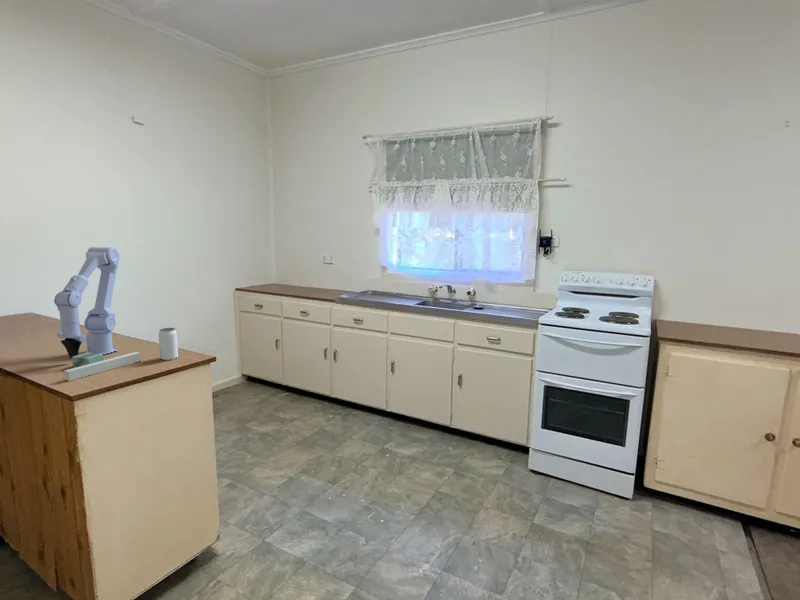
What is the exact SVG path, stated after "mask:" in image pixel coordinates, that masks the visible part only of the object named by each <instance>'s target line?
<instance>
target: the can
mask: <svg viewBox="0 0 800 600" xmlns="http://www.w3.org/2000/svg"><path fill="white" fill-rule="evenodd" d="M158 345H159V355H160V356H159V357H160V360H161V359H163V360H162V361H170V360H169V359H174V358H176V357H177V358H178V357H179V349H178V346H179V345H178V334H177V331H176V327H175V328H174V327H165V328H160V329H159V332H158ZM177 358H176V359H177ZM174 360H175V359H174Z"/></svg>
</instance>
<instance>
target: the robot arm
mask: <svg viewBox="0 0 800 600" xmlns="http://www.w3.org/2000/svg"><path fill="white" fill-rule="evenodd" d="M119 262H120V254H119V252H118V250H117V249H116V248H115V247H113V246H112V247H109V246H108V247H105V246H104V247H102V246H101V247H99V246H91V247H89V248H88V249H87V252H85V261H84V263H83V264H82V266H81V268H80V269H79V272H78V273H77V274H76V275H73V276H71V277H70V279H69V280H68V282H67V283H66V285H65V286H64V288H63V289H62V290H61V291H59V292H58V293H56V295H55V297H54V299H53V303H54V305H55V306H56V307H57V311H58V312H59V318H60V329H61V330H60V331H59V332H58V331H57V332H56V334H57V338H59V339H62V340H61V341H60V343H61V344H62V345H63V347H64V348H65V350H66V352H67V355H68V356H69V358H70V359H72V357H73V356H77V355H79V351H80V347H81V345H82V343H83V342H85V343H86V349H87V351H85V352H84V353H96V354H104V355H108V354H112V353H115V352H114V351H116V352H118V351H119V350H118V349H115V348H114V347H113V344H114V343H113V335H112V332H113V331H114V329H115V327H116V324H117V323H116V313H115V312H113V311H112V310H111V305H112V300H113V294H114V293H113V292H114V288H115V282H116V275H117V270H118V266H119ZM96 269H99V270H100V277H99V281H98V288H97V293H96V296H95V297H96V298H95V303H94V304H95V305H94V308H92V309H90V310H89V311H88V312H87V316H86V318H85V319H84V324H83V325H84V328H85V329H86V330H87V331H88V333H87V335H84V334H83V333H82V332H81V325H80V315H79V305H80V304H81V303H82V296H83V293H84V291H85V289H86V288H87V286H88V285H89V280H88V279H89V277H90V276H91V275H92V274H93V273H94V271H95V270H96ZM111 352H112V353H111ZM107 353H108V354H107Z"/></svg>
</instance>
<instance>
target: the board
mask: <svg viewBox="0 0 800 600" xmlns="http://www.w3.org/2000/svg"><path fill="white" fill-rule="evenodd" d="M141 358H142V357H141V352H138V351H136V352H135V351H133V352H131V353H127V354H123V355H120V356H119V355H118V356H116V357H112V358H108V359H104V360H103V361H100V362H96V363H92V364H88V365H84V366H80V367H76V368H73V367H72V368H69V369H65V370H63V371H64V373H63V374H64V380H65V381H66V380H73V379H77V378H80V379H82V378H81V377H84V378H86V377H85V376H87V377H89V376H88V375H91V376H93V375H92V374H94V375H97V374H96V373H98V374H100V373H99V372H102V373H104V372H103V371H105V372H107V371H106V370H109V369H112V368H116V367H119V368H121V367H120V366H123V367H125V366H124V365H126V366H128V365H127V364H130V365H132V364H131V363H133V364H135V363H134V362H137V361H141V362H142V359H141ZM137 363H138V362H137ZM116 369H117V368H116ZM112 370H113V369H112ZM109 371H110V370H109ZM77 380H78V379H77ZM73 381H74V380H73Z"/></svg>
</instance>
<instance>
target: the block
mask: <svg viewBox="0 0 800 600" xmlns="http://www.w3.org/2000/svg"><path fill="white" fill-rule="evenodd" d="M71 359H72V368H73V367H75V368H76V367H80V366H84V365H88V364H92V363H96V362H100V361H103V360H105V354H104V355H103V354H96V353H85V352H84V353H80V354H78V355H77V356H73V357H72V358H71Z"/></svg>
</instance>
